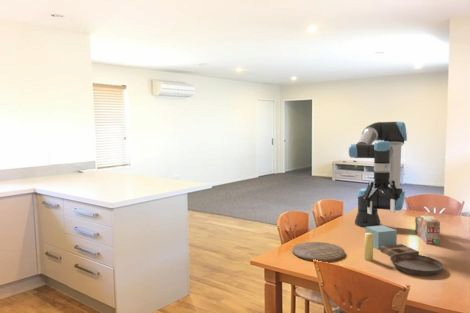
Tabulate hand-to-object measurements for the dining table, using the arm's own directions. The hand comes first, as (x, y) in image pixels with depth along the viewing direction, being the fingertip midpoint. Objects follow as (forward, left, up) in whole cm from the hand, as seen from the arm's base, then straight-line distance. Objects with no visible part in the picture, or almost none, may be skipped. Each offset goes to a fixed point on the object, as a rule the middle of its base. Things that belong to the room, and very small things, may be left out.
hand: (381, 212), depth 190 cm
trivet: (+1, -36, -18) cm, 40 cm away
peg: (+16, -18, -17) cm, 29 cm away
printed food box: (-3, +31, -18) cm, 36 cm away
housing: (0, 0, -17) cm, 17 cm away
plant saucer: (+31, -5, -18) cm, 36 cm away
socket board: (+14, 0, -17) cm, 22 cm away
